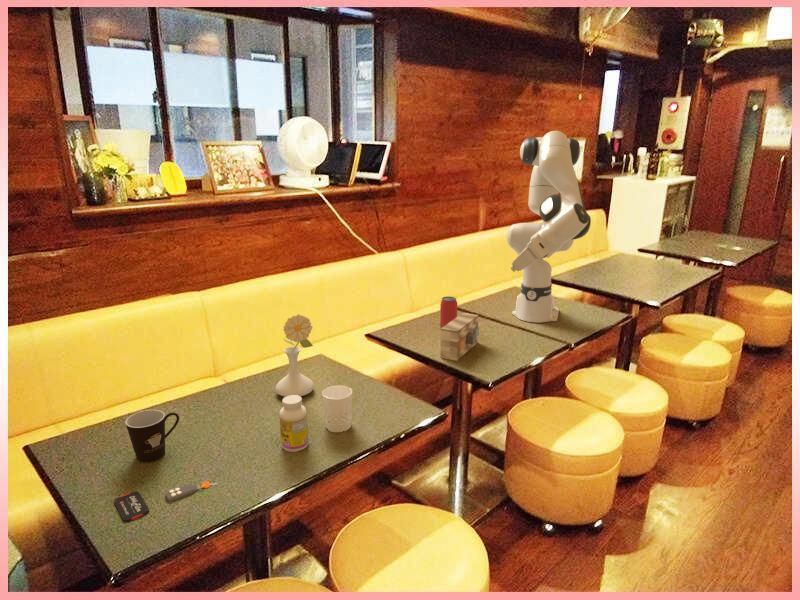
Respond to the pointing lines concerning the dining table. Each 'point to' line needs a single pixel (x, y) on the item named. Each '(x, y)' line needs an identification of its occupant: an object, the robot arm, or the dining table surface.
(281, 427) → the supplement bottle
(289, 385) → the flower in vase
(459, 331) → the block
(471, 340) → the charcoal button
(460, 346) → the terracotta button
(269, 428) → the dining table surface
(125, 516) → the black flat block
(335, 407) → the white cup
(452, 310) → the beer can
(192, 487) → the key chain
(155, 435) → the coffee mug
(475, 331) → the slate-blue button
